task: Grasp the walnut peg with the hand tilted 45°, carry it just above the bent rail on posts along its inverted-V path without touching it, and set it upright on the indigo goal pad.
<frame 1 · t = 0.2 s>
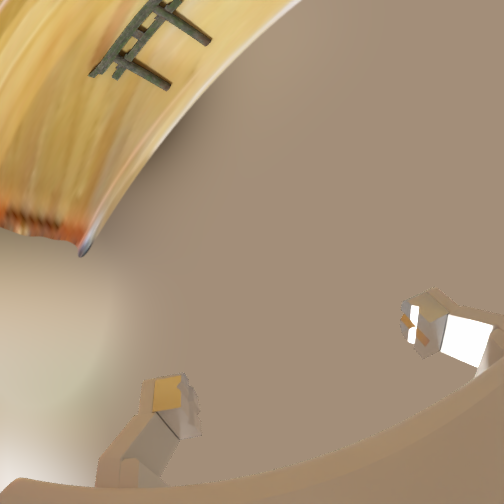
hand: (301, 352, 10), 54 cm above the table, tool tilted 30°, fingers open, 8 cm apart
miniature torii gate: (155, 44, 42), on the table
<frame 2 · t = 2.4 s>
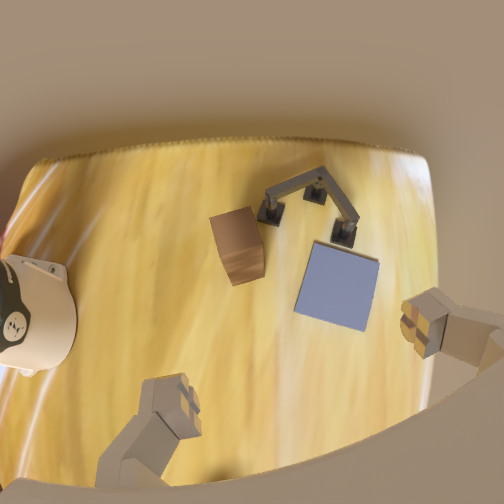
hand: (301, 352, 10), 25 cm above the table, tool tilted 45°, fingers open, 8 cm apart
walnut peg: (244, 266, 38), on the table
bent rail on posts: (311, 211, 40), on the table
goal pad: (338, 287, 36), on the table
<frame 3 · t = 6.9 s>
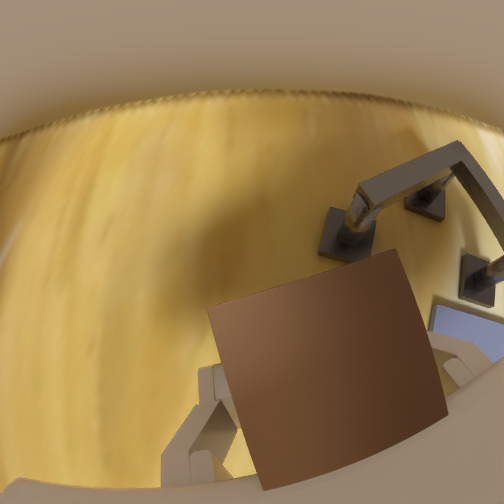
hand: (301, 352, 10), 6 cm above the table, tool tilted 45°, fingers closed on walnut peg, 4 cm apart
walnut peg: (293, 365, 15), on the table, touching gripper
bent rail on posts: (421, 234, 17), on the table
goal pad: (470, 387, 14), on the table
when the fingers open (8 cm above the table, at t = 13.0 s): walnut peg drops 1 cm, resting on goal pad.
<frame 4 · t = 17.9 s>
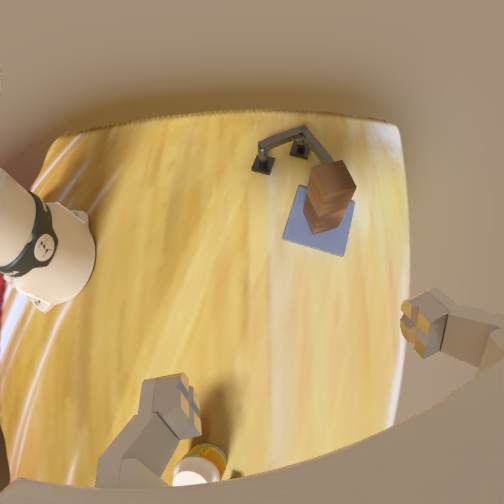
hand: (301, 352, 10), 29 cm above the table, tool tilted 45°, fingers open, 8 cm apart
supplement bottle: (207, 459, 33), on the table
walnut peg: (320, 219, 43), point 1 cm above the table, touching goal pad
bent rail on posts: (296, 163, 48), on the table
goal pad: (320, 220, 44), on the table
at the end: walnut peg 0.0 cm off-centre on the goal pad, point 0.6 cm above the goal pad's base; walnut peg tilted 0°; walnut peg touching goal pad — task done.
